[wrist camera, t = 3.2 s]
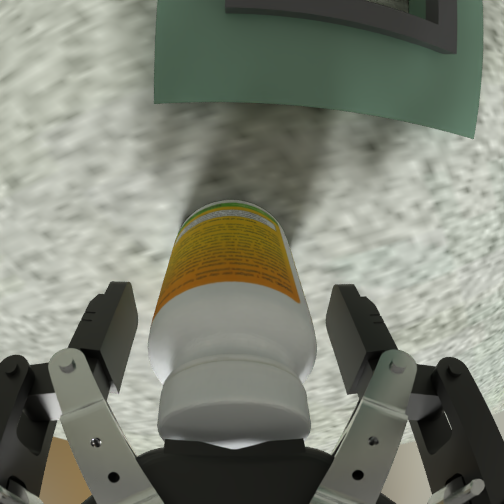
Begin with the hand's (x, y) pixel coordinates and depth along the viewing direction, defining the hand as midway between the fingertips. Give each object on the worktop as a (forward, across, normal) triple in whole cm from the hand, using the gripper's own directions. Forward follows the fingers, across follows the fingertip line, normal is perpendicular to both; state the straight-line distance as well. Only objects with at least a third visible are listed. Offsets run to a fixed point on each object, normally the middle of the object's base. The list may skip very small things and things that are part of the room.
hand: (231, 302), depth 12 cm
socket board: (+4, -4, -15) cm, 16 cm away
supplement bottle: (+4, 0, 0) cm, 4 cm away
